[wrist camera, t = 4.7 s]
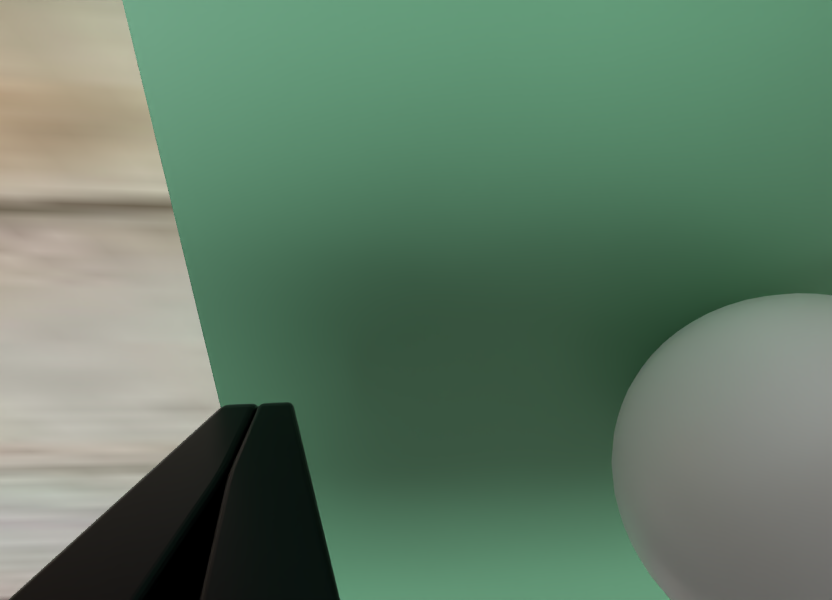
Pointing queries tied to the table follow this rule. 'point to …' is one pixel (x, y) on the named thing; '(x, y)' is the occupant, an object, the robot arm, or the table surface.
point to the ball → (733, 454)
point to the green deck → (481, 247)
